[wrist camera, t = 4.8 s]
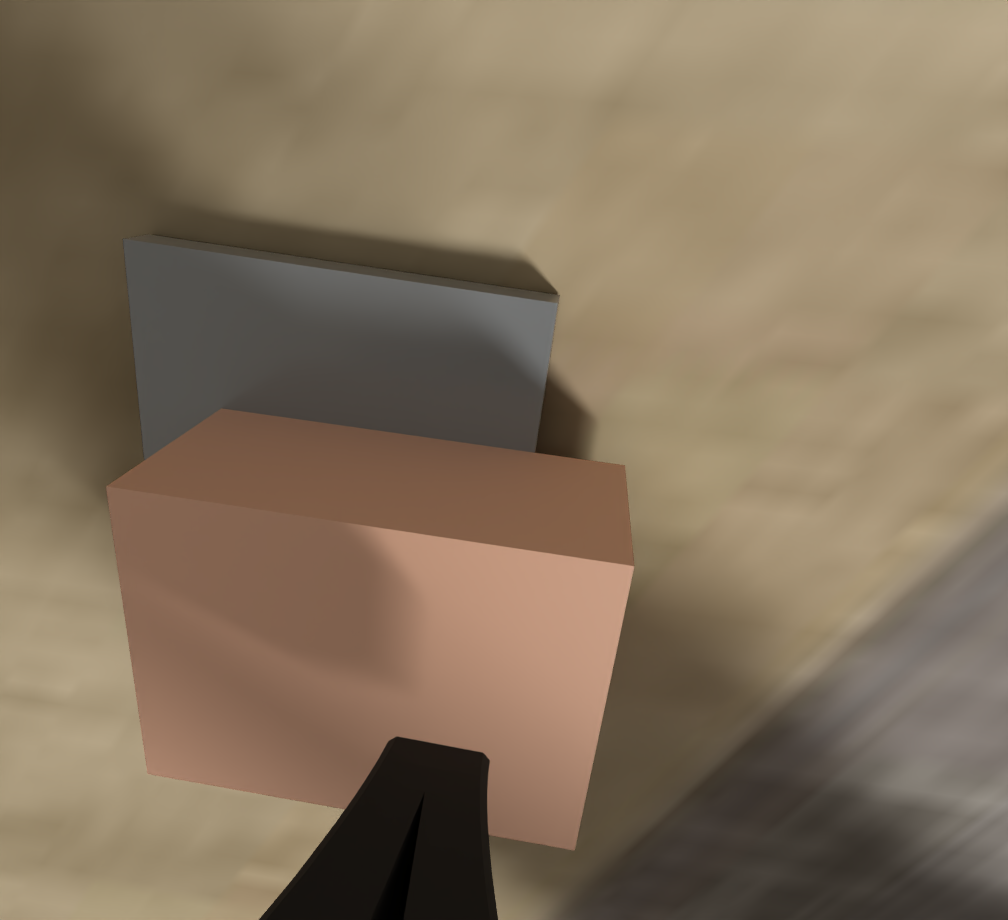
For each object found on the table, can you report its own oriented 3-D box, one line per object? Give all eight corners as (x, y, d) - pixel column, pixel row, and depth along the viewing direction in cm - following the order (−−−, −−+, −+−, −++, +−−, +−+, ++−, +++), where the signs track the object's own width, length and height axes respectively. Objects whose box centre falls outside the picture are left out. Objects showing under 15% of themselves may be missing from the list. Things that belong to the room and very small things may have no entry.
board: (560, 295, 13) (558, 303, 12) (487, 764, 18) (482, 790, 17) (148, 234, 14) (122, 238, 13) (187, 708, 18) (170, 730, 18)
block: (634, 566, 10) (106, 486, 11) (574, 850, 13) (147, 773, 13) (624, 465, 13) (221, 408, 14) (579, 706, 16) (237, 649, 16)
